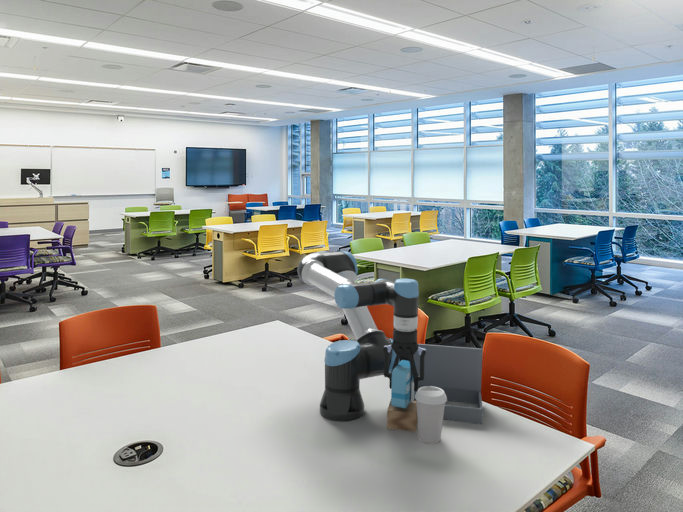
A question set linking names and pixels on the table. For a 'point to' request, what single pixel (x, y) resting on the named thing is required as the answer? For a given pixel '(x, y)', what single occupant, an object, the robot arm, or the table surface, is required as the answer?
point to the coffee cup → (430, 413)
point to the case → (454, 379)
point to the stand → (402, 417)
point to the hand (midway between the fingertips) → (403, 398)
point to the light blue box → (401, 384)
